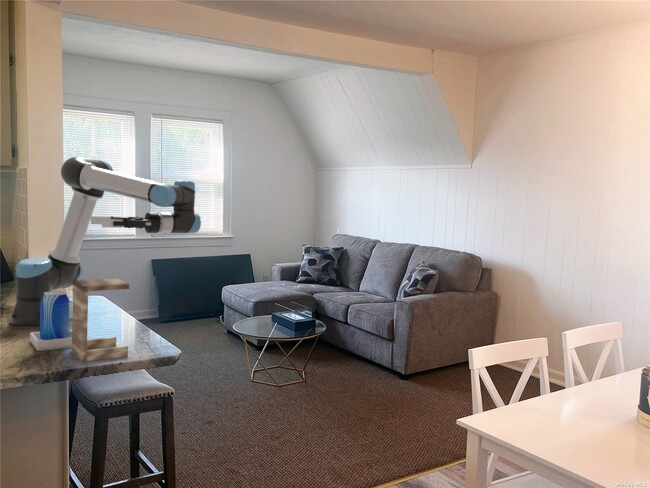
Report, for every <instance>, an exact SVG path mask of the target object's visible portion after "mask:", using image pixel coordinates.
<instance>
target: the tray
mask: <svg viewBox="0 0 650 488" xmlns="http://www.w3.org/2000/svg"><path fill="white" fill-rule="evenodd" d="M29 343H31V345H32V346H33V347H34V348H35V350H36V351H48V350H57V349H66V348H67V349H68V348H72V328H69V337H68V338H62V339H52V340H41V339H40V331H33V332H32V331H31V332H30V333H29Z"/></svg>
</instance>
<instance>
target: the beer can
mask: <svg viewBox="0 0 650 488" xmlns="http://www.w3.org/2000/svg"><path fill="white" fill-rule="evenodd" d="M69 329H70V298H69V296H68V295H67V292H66V291H62V290H51V291H49V292H45V293H44V295H43V297H42V298H41V302H40V325H39V332H40V339H41V340H52V339H62V338H68V337H69Z"/></svg>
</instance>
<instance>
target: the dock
mask: <svg viewBox="0 0 650 488" xmlns="http://www.w3.org/2000/svg"><path fill="white" fill-rule="evenodd" d="M129 289H130V284H129V283H128V282H125V281H124V280H121V279H120V278H119V277H117V278H115V277H113V278H97V279H96V278H94V279H93V278H92V279H90V278H89V279H80V280H73V285H72V304H71V305H72V312H71V313H72V314H71V316H72V318H71V330H72V347H71V352H72V353H73V354H74V355H75V356H76V357H77V359H79V361H81V362H89V361H90V362H91V361H97V360H107V359H115V358H121V357H128V356H129V346H128V345H120V346H117V337H116V336H110V337H108V336H107V337H100V338H93V339H92V338H89V339H88V318H89V317H88V316H89V315H88V314H89V313H88V312H89V311H88V310H89V292H98V291H99V292H100V291H116V290H129Z"/></svg>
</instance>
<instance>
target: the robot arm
mask: <svg viewBox="0 0 650 488" xmlns="http://www.w3.org/2000/svg"><path fill="white" fill-rule="evenodd" d="M60 176H61V179H62V180H63V181H64V183H65V184H66V185H67V186H69V187H71V190H72V191H73V195H72V198H71V201H70V205H69V207H68V209H67V213H66V215H65V219H64V222H63V225H62V227H61V231H60V233H59V237H58V239H57V242H56V245H55V248H54V249H53V250H50V251H49V254H48V256H47V257H33V258H32V257H30V258H25V259H23V260H20V261H18V263H17V264H16V271H15V303H14V306H13V309H12V312H11V314H10V320H9V321H10V324H11V325H15V326H23V327H26V326H27V327H29V326H30V327H31V326H32V327H34V326H40V302H41V298H42V297H43V295H44V293H45V292H49V291H57V290H59V289H66V288H69V287H71V286H72V287H73V280H81V278H82V275H83V268H82V264H81V261H82V260H81V257H80V256H79V253H80V250H81V248H82V245H83V242H84V239H85V236H86V234H87V230H88V228H89V225H101V228H119V229H121V228H123V229H126V228H127V229H144V230H145V232H146V233H147V234H163V235H165V236H166V235H167V234H196V233H198V232H199V231H200V229H201V226H202V220H201V216H200V214H198V213H195V200H196V183H195V182H194V181H192V180H175V181H174V184H165V183H161V182H158V181H157V182H156V181H153V180H149V179H145V178H142V177H141V178H140V177H137V176H132V175H129V174H125V173H121V172H117V171H114V170H113V167H112V165H111V164H110V163H109V162H108V161H106V160H103V159H99V158H95V157H94V158H91V157H83V156H72V157H70V158H67V159H66V160H65V161H64V162H63V164H62V166H61V168H60ZM105 192H107V193H111V194H115V195H119V196H123V197H125V198H126V197H127V198H132V199H135V200H139V201H142V202H147V203H152V204H153V205H155V206H157V207H161V208H168V207H170V208H171V207H173V212H169V211H168V212H165V211H164V212H161V211H159V212H156V211H148V212H146V213H145V215H144V217H143V216H128V217H127V216H126V217H125V216H124V217H122V216H93V213H94V211H95V208H96V204H97V201H98V200H101V199H102V198H103V196H104V194H105Z"/></svg>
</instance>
